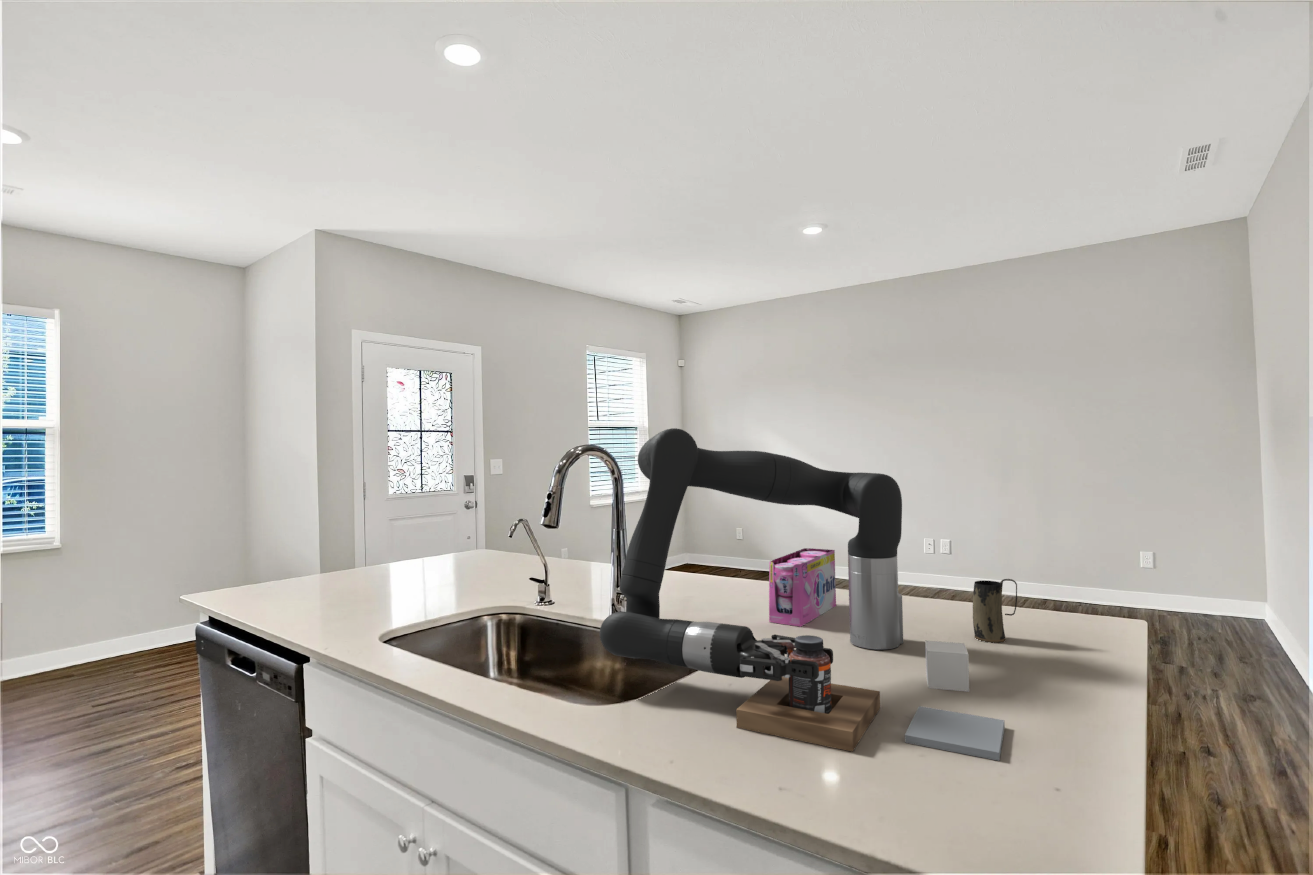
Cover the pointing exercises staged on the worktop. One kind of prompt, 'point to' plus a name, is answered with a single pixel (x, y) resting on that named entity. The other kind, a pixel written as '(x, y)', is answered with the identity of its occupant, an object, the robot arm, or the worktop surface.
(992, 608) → the mug
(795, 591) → the gum box
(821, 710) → the supplement bottle
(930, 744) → the slate pad
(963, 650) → the white cube
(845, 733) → the socket block
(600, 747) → the worktop surface
